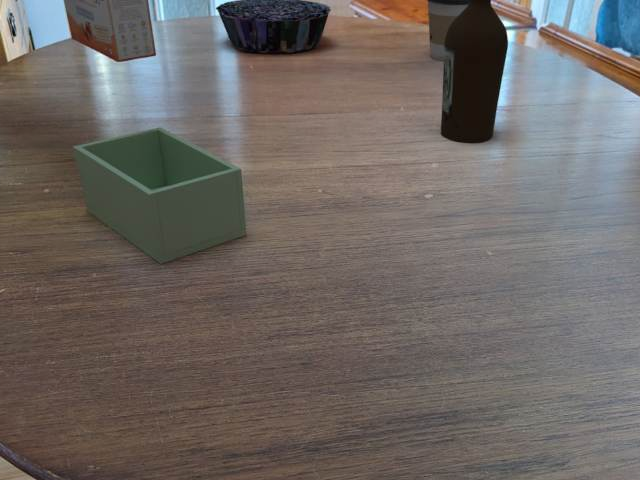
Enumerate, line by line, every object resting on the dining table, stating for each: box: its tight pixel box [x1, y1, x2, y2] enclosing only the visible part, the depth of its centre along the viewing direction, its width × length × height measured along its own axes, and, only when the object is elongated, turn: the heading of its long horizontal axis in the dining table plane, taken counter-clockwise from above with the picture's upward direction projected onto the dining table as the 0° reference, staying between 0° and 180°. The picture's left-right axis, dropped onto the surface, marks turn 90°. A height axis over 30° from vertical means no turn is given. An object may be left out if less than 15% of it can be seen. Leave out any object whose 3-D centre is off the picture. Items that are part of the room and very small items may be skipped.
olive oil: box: [440, 0, 509, 143], centre depth 123 cm, size 11×11×25 cm
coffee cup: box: [426, 0, 471, 62], centre depth 170 cm, size 11×11×15 cm
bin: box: [72, 126, 248, 265], centre depth 94 cm, size 13×20×9 cm, turn 43°
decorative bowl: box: [215, 0, 332, 54], centre depth 176 cm, size 26×28×10 cm
